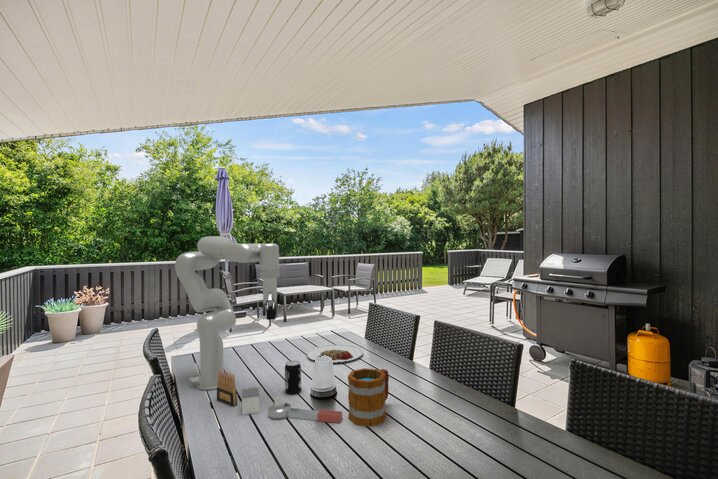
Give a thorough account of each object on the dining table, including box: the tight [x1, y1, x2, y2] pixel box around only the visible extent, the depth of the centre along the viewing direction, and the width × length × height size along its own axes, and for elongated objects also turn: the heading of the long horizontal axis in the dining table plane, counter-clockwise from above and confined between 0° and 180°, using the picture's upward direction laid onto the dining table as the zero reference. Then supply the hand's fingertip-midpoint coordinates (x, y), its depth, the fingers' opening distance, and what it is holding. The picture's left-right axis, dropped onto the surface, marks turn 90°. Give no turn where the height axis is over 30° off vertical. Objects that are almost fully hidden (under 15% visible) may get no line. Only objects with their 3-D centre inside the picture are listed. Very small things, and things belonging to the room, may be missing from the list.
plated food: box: [306, 344, 364, 364], centre depth 204 cm, size 30×30×3 cm
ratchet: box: [267, 396, 343, 424], centre depth 135 cm, size 27×8×6 cm, turn 76°
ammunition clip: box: [216, 370, 238, 407], centre depth 148 cm, size 11×2×12 cm, turn 54°
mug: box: [347, 368, 390, 427], centre depth 136 cm, size 20×14×15 cm
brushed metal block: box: [241, 387, 260, 416], centre depth 141 cm, size 6×6×7 cm
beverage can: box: [284, 360, 302, 395], centre depth 157 cm, size 7×7×12 cm
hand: (271, 317), depth 152 cm, fingers open, 9 cm apart
